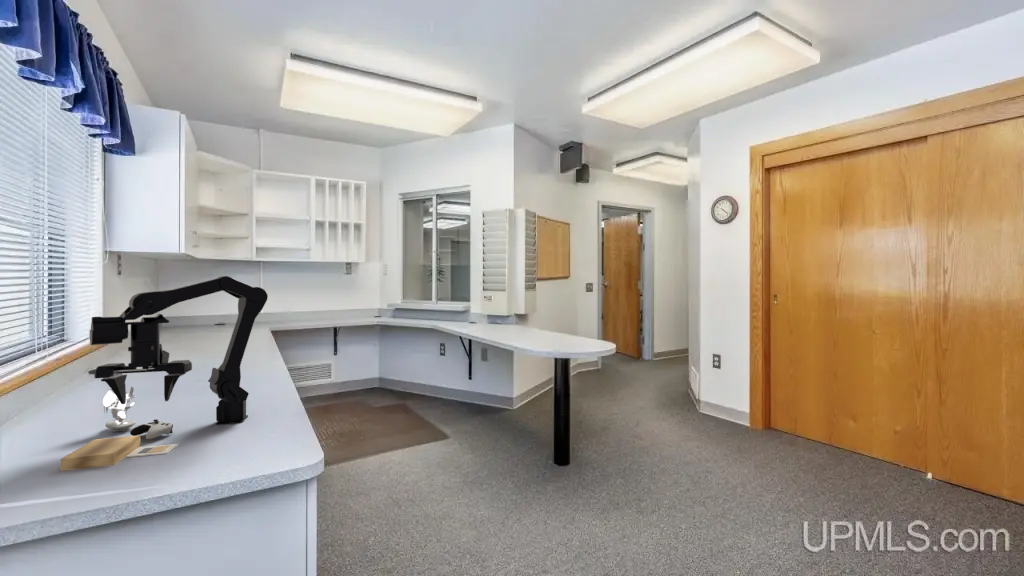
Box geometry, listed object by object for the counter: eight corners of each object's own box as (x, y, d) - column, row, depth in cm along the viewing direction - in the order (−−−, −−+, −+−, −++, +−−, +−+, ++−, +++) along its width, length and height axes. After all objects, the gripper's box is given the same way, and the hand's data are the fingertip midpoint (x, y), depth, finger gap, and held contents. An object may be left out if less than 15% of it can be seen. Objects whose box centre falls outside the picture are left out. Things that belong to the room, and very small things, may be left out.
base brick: (140, 447, 109) (140, 435, 109) (114, 467, 97) (113, 453, 97) (94, 452, 106) (94, 439, 106) (60, 473, 93) (60, 458, 93)
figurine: (140, 430, 121) (140, 386, 121) (110, 437, 115) (110, 390, 115) (125, 425, 125) (125, 382, 125) (95, 431, 120) (96, 387, 120)
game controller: (126, 432, 114) (146, 412, 118) (143, 443, 117) (162, 424, 121) (145, 437, 110) (166, 416, 114) (162, 448, 113) (182, 428, 117)
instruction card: (178, 445, 109) (178, 443, 109) (167, 453, 103) (167, 451, 103) (138, 448, 106) (138, 447, 106) (125, 457, 101) (125, 455, 101)
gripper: (199, 336, 124) (199, 392, 124) (117, 339, 119) (117, 398, 118) (183, 341, 114) (183, 402, 114) (93, 344, 108) (93, 408, 108)
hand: (145, 402), depth 114 cm, fingers open, 9 cm apart
